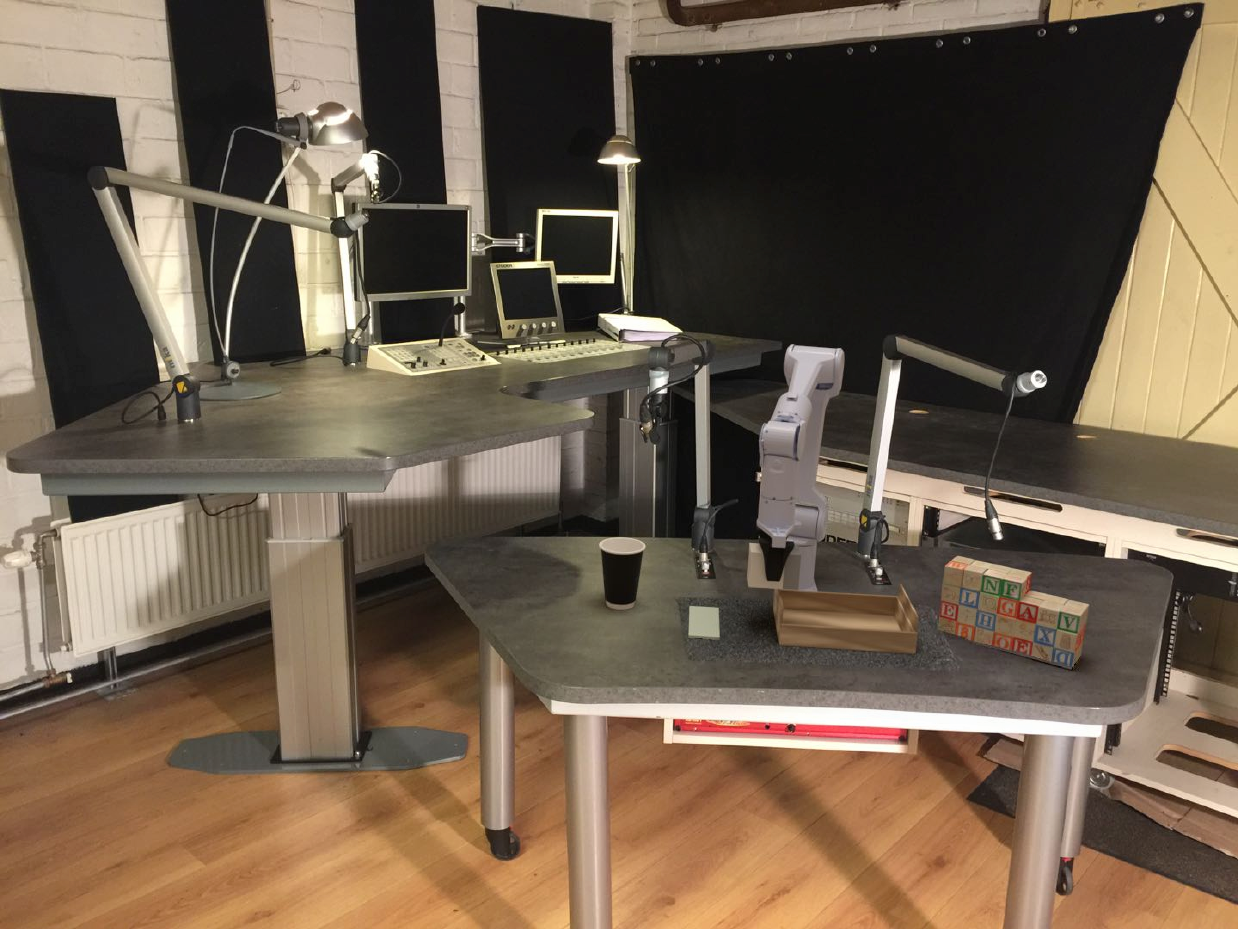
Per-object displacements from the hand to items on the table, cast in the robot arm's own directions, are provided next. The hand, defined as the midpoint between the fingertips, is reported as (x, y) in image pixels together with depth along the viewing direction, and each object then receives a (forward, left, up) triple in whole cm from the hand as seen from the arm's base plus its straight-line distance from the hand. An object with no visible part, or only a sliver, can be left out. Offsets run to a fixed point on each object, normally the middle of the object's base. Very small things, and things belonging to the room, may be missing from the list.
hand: (771, 574), depth 163 cm
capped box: (0, 0, -2) cm, 2 cm away
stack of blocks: (+1, +39, -10) cm, 40 cm away
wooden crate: (0, +12, -9) cm, 15 cm away
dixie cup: (-6, -25, -10) cm, 27 cm away
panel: (0, -7, -9) cm, 12 cm away
